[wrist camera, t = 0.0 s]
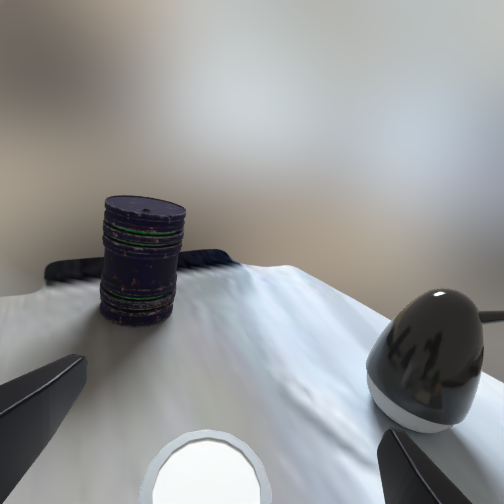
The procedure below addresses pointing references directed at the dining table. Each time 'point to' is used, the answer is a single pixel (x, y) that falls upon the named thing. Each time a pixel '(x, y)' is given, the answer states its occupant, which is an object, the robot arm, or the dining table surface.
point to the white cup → (206, 472)
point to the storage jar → (140, 259)
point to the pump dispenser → (430, 361)
